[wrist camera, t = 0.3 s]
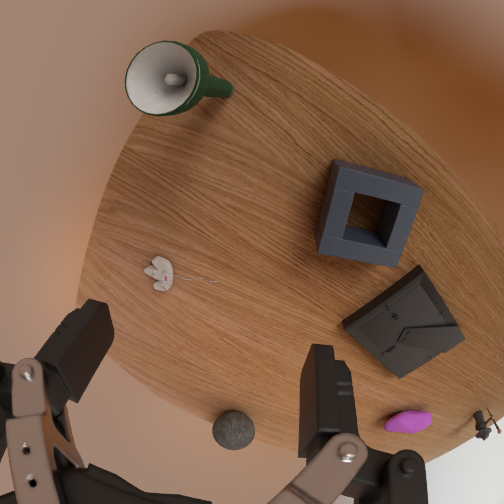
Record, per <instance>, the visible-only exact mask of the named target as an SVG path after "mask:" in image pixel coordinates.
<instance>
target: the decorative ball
mask: <svg viewBox="0 0 504 504" xmlns="http://www.w3.org/2000/svg"><path fill="white" fill-rule="evenodd" d="M212 431H213V437H214V439H215V440H216V442H217V443H218V444H219V445H220V446H222V447H224V448H226V449H229V450H239V449H242V448H245V447H246V446H248V445H249V444H250V443H251V442H252V440H253V438H254V435H255V427H254V424H253V422H252V420H251V419H250V418H249V417H248V416H247V415H245V414H243V413H241V412H236V411H230V412H226V413H224V414H222V415H220V416H219V417H218V418H217V419H216V420H215V422H214V424H213V429H212Z"/></svg>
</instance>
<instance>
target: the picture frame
mask: <svg viewBox="0 0 504 504" xmlns="http://www.w3.org/2000/svg"><path fill="white" fill-rule="evenodd" d="M343 326H344V330H346V331H347V332H348V333H349V334H350V335H351V336H352V337H353V338H354V339H356V340H357V341H358V342H359V343H360V344H361V345H362V346H363V347H365V348H366V349H367V350H368V351H369V352H370V353H371V354H372V355H373V356H375V357H376V358H377V359H378V360H379V361H380V362H381V363H382V364H384V365H385V366H386V367H387V368H388V369H389V370H390V371H391V372H392V373H394V374H395V375H396V376H397V377H398V378H399V379H400V378H402V377H404V376H405V375H407V374H409V373H410V372H412V371H414V370H415V369H417V368H419V367H420V366H422V365H423V364H425V363H426V362H428V361H429V360H431V359H433V358H434V357H436V356H437V355H439V354H440V353H441V352H442V353H445V352H447V351H449V350H450V349H452V348H453V347H454V346H456V345H457V344H459V343H460V342H462V341H463V340H465V337H464V335H463V334H462V332H461V330H460V328H459V326H458V325H457V323H456V321H455V319H454V318H453V316H452V314H451V313H450V311H449V309H448V308H447V306H446V304H445V303H444V301H443V300H442V298H441V296H440V295H439V293H438V292H437V290H436V289H435V287H434V285H433V284H432V282H431V281H430V279H429V278H428V276H427V275H426V273H425V272H424V270H423V269H422V267H421V266H420V265H418V266H417V267H415V268H414V269H413V270H412V271H410V272H409V273H408V274H406V275H405V276H404V277H403V278H401V279H400V280H399V281H397V282H396V283H395V284H393V285H392V286H391V287H389V288H388V289H387V290H385V291H384V292H383V293H381V294H380V295H379V296H377V297H376V298H375V299H373V300H372V301H370V302H369V303H368V304H366V305H365V306H363V307H362V308H360V309H359V310H358V311H356V312H355V313H353V314H352V315H350V316H349V317H347V318H346V319H344V320H343Z"/></svg>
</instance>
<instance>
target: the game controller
mask: <svg viewBox="0 0 504 504" xmlns="http://www.w3.org/2000/svg"><path fill="white" fill-rule="evenodd" d="M152 263H153V265H154V266H153V265H149V266H148V267H147V268H146V269H144V272H145V273H146V274H147V275H149V276H151V277H153V278H155V279H157V281H156V282H155V283H154V285H153V286H154V288H155V289H157V290H161V291H167V290H168V289H169V288H170V287H171V285H172V283H173V276H176V275H173V270H172V266H171V263H170V262H169V261H168V260H167V259H165V258H163V257H160V256H156V257H155V258H154V259H153V260H152ZM178 277H180V276H178ZM180 278H181V277H180ZM182 279H184V278H182ZM200 279H204V278H200ZM188 280H191V279H188ZM205 280H206V279H205ZM206 281H208V280H206ZM209 282H218V281H209Z"/></svg>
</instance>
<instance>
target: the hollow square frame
mask: <svg viewBox="0 0 504 504" xmlns="http://www.w3.org/2000/svg"><path fill="white" fill-rule="evenodd" d="M423 191H424V190H423V189H422V188H421V187H419V186H418V185H417V184H415V183H414V182H412V181H411V180H410V179H408V178H404V177H401V176H398V175H394V174H391V173H387V172H384V171H380V170H376V169H372V168H369V167H365V166H361V165H357V164H353V163H349V162H345V161H340V160H336V159H333V160H332V165H331V170H330V174H329V179H328V183H327V187H326V192H325V196H324V200H323V204H322V208H321V213H320V217H319V220H318V224H317V228H316V232H315V241H316V247H317V253H318V254H323V255H329V256H334V257H339V258H345V259H350V260H356V261H361V262H366V263H371V264H377V265H382V266H387V267H393V268H396V267H397V264H398V262H399V259H400V257H401V254H402V251H403V249H404V246H405V243H406V241H407V238H408V235H409V233H410V230H411V227H412V224H413V221H414V218H415V215H416V212H417V209H418V207H419V203H420V200H421V197H422V194H423ZM355 193H359V194H364V195H368V196H372V197H376V198H380V199H384V200H386V203H385V206H384V209H383V212H382V216H381V219H380V222H379V225H378V228H377V231H376V232H375V231H370V230H366V229H361V228H356V227H352V226H347V225H346V224H347V220H348V217H349V213H350V209H351V206H352V202H353V198H354V195H355Z"/></svg>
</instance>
